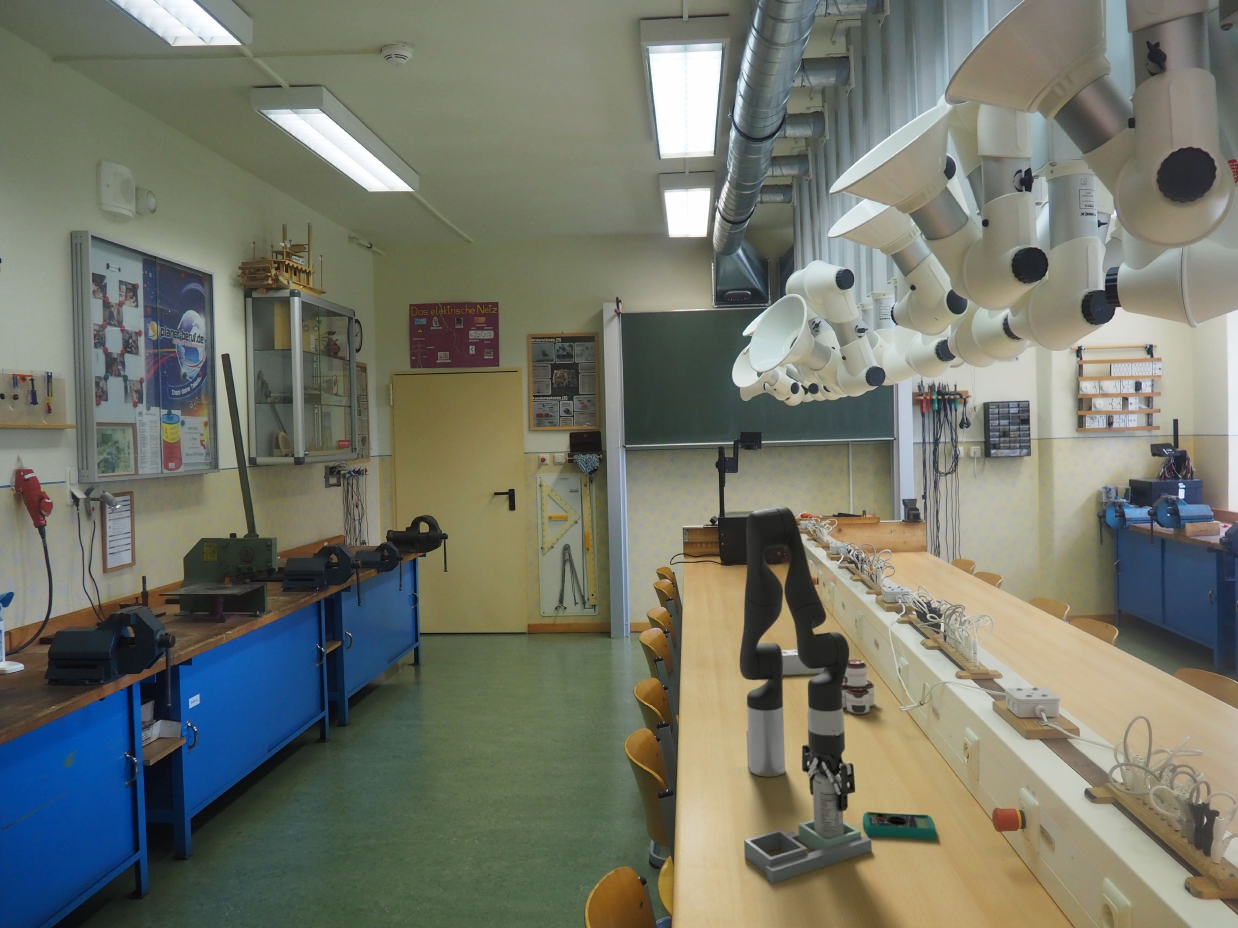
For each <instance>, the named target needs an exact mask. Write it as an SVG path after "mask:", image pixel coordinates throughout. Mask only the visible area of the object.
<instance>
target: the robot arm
mask: <svg viewBox="0 0 1238 928" xmlns="http://www.w3.org/2000/svg"><path fill="white" fill-rule="evenodd" d="M745 526H746V529H745V530H746V579H745V589H744V603H743V604H744V605H743V606H744V607H743V609H744V610H743V630H742V638H741V643H740V652H739V670H740V674H741V675H742V678H744V679H745V680H749V681H763V680H764V681H765V680H767V681H766V682H765V683H763V684H762V685H761V686H759V687H757V688H755V689H752V690H751V691H749V692H748V693H747V696H746V707H747V709H746V710H747V714H746V715H747V731H746V744H747V745H746V748H747V749H746V751H747V766H748V768H749V772H751V773H752V774H753V775H756V776H760V777H765V778H766V777H767V778H768V777H769V778H770V777H771V778H772V777H779V776H782V775H784V774H785V772H786V750H785V749H786V748H785V725H784V724H785V721H784V720H785V719H784V702H783V701H784V698H783V697H784V694H783V692H784V690H783V688H784V686H783V683H784V682H783V677H784V675H783V656H782V651H781V650H782V649H781V646H780V645H779V644H778V643H776V642H766V643H765V642H763V643H762V642H761V643H759V642H760V640H761V638H762V637H763V636H764V635H765V634H766V632H768V630H770V628H771V627H772V626H773V625H774V624H775V623H776V621H777V620H778V619H779V617H780V616H781V613H782V608H783V598H785V602H786V604H787V607H788V609H789V612H790V614H791V617H792V619H793V623H794V628H795V636H796V649H797V650H798V656H799V658H800V660H801V662H802V663H803V664H804V665H805V666H806V667H808V668H810V669H818V668H824V671H823V672H822V673H819V674H818V675H817V676H814V677H812V678H810V679H809V680H808V683H807V698H808V699H807V701H808V706H807V708H808V709H807V737H808V738H807V739H808V740H807V741H808V742H807V744H803V745H802V747H801V749H802V750H801V770H802V772H804V773H806V774H807V777H808V778H809V779H808V780H809V790H810V791H809V792H810V795H811V796H813V779H814V777H815V776H816V775H815V773H816V772H817V771H819V773H821V774H824V775H825V776H826V777H828V778H829V780H830V782H831V784H833V785H834V787H835V789H836V792H837V793H836V805H837V810H838V811H840V812H842V811H843V812H844V811H847V809H848V808H849V804H848V803H849V802H848V800H849V799H848V795H849V794H852V793H856V783H855V769H854V764H853V763H852V762H850V763H847V762H844V760H843V756H842V754H843V752H844V751H845V750H846V736H845V734H846V733H845V715H844V710H843V708H842V685H843V681H844V677H845V673H846V669H847V665H848V660H850V645H849V644H848V643H849V642H848V641H847V639H846V638H845V636H844V635H843V634H841V633H840V632H838V631H830V632H822V633H815V632H814V631H813V630H814V629H816V628H818V627H819V626H821V625H823V624H824V623H825V621H826V619H827V614H826V613H827V612H826V610H825V608H824V605H823V602H822V600H821V598H820V595H819V593H818V591H817V588H816V586H815V584H814V580H813V578H812V574H811V571H810V567H809V563H808V559H807V554H806V551H805V550H806V549H805V547H804V544H803V543H804V542H803V538H802V536H801V531H800V528H799V525H798V521H797V519H796V517H795V515H794V512H793V511H792V509H790V508H789V507H787V506H777V507H771V508H766V509H765V508H764V509H758V510H755V511H752V512H750V513H749V514H748V517H747V520H746V525H745ZM780 547H786V549H787V551H788V555H789V563H788V570H787V574H786V577H785V583H784V589H783V584H782V582H781V581H780V579H779V578H778V576H777V575H776V574H775V573H774V571H773V570H772V569H771V567H770V566H769V564H768V563H767V561H766V559H765V558H766V557H765V553H766V550H768V549H770V550H771V549H776V548H780ZM837 775H839V777H838V778H835V777H834V776H837ZM838 782H841V784H842V787H841V788H840V786H839V783H838Z"/></svg>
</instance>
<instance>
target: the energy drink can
mask: <svg viewBox="0 0 1238 928" xmlns="http://www.w3.org/2000/svg"><path fill="white" fill-rule="evenodd" d="M815 775H816V776H815V777H814V779H813V795H812V797H813V798H812V799H813V801H812V802H813V820H814V832H816V833H817V834H819V835H820V836H822V837H823V838H825V839H831V838H834V837H837V836H840V835H844V832H843V821H844V811H842V812H840V811H838V810H837V805H836V793H837V792H836V789H835V787H834V785H833V784H831V782H830V780H829V778H828V777H826V776H825V775H824V774H821V773H819V771H817V772H816V773H815ZM834 777H835V778H838V777H840V775H839V774H838V775H837V776H834ZM838 783H839V786H840V788H841V787H842V784H841V782H838Z"/></svg>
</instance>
